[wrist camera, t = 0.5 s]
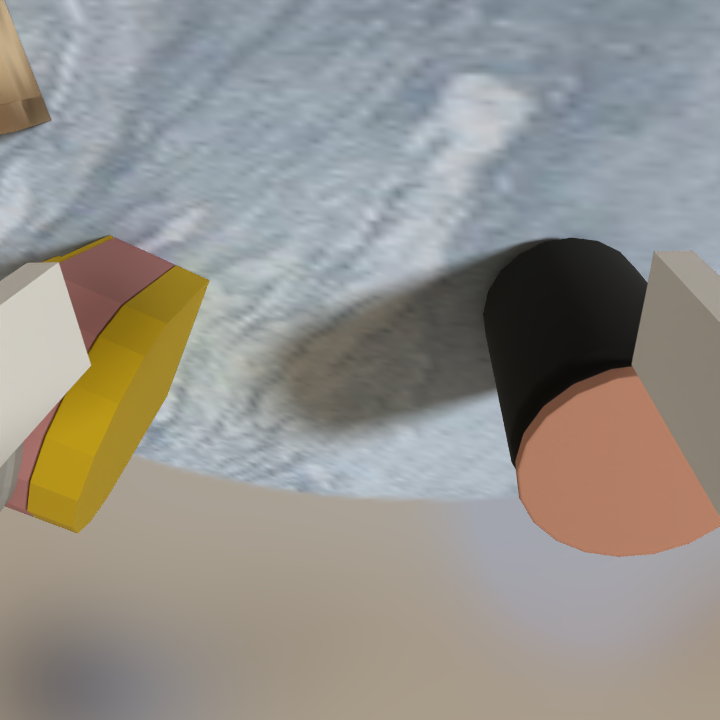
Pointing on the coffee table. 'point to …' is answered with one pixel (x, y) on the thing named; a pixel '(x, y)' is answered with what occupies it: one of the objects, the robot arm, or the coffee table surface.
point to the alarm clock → (105, 380)
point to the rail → (17, 82)
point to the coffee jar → (587, 405)
